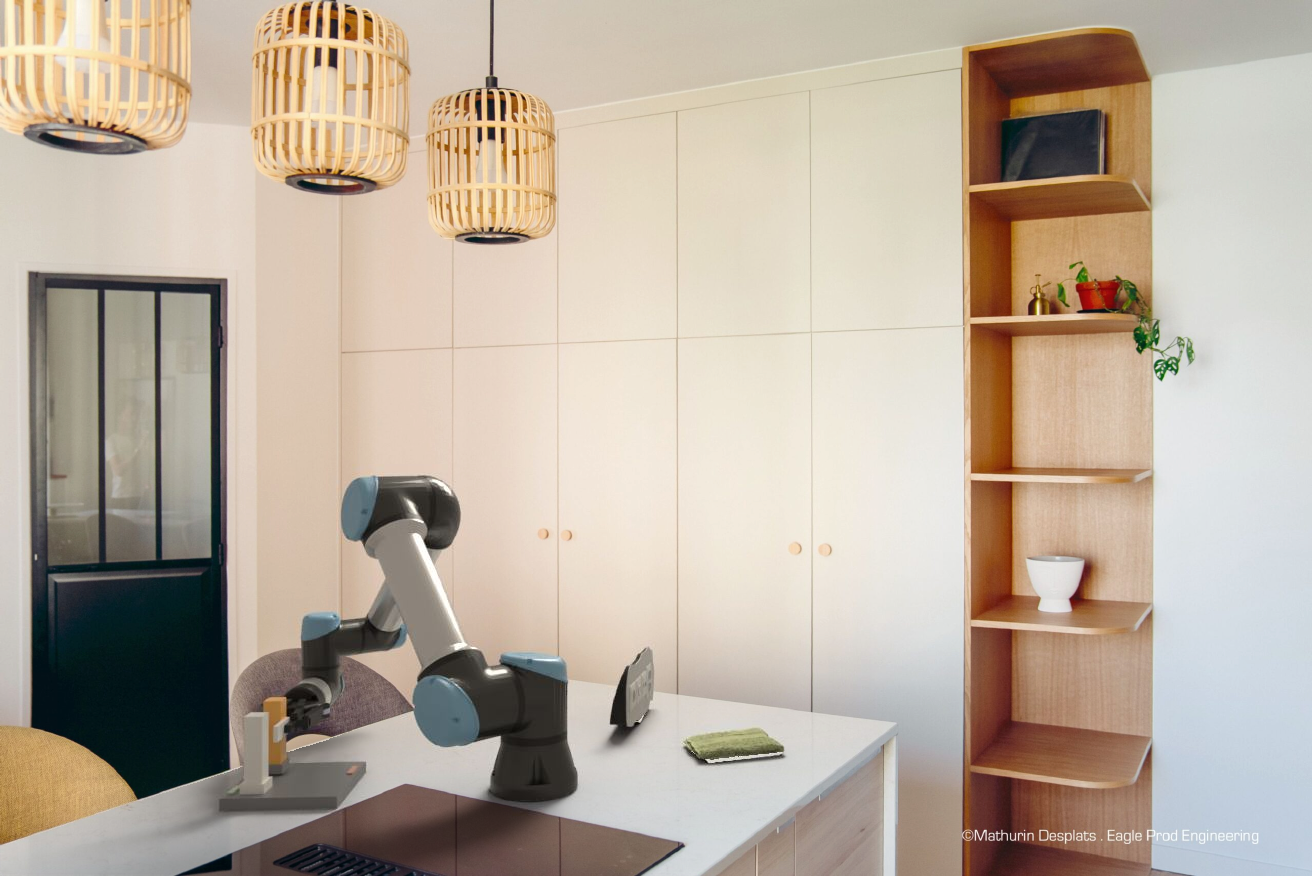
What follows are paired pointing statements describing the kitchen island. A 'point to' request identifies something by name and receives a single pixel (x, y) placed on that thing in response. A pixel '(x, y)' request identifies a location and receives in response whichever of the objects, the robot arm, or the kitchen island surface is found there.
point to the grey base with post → (287, 778)
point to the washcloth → (733, 744)
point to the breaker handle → (275, 749)
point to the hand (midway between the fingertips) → (264, 734)
